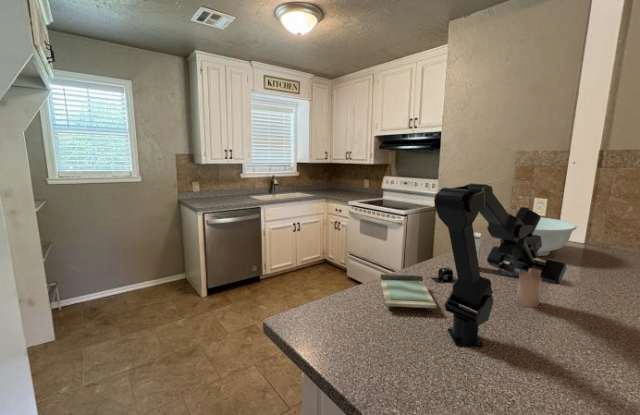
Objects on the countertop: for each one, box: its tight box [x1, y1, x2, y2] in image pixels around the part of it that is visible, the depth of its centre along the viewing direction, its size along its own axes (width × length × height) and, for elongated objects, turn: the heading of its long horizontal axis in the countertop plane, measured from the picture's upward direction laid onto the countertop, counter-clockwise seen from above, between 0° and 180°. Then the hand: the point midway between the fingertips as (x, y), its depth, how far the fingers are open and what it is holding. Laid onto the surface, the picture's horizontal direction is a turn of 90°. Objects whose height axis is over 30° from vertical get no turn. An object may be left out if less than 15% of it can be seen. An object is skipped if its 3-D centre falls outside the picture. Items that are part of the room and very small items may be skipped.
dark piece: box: [430, 267, 458, 284], centre depth 109 cm, size 12×7×5 cm, turn 100°
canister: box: [516, 257, 545, 308], centre depth 90 cm, size 6×6×14 cm
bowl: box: [533, 216, 578, 257], centre depth 140 cm, size 32×32×15 cm
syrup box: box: [473, 231, 483, 265], centre depth 119 cm, size 6×6×14 cm
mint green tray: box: [380, 273, 437, 313], centre depth 94 cm, size 18×14×4 cm
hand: (530, 277), depth 90 cm, fingers open, 9 cm apart
